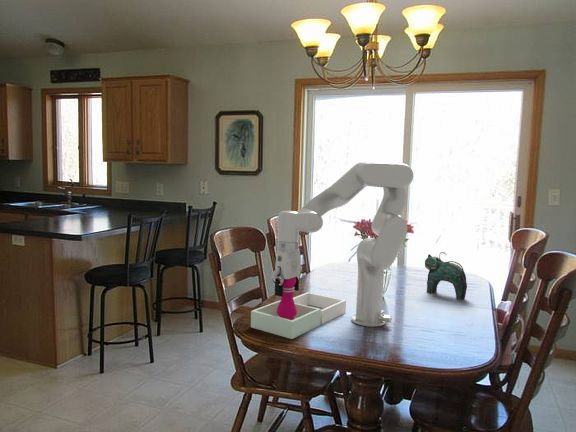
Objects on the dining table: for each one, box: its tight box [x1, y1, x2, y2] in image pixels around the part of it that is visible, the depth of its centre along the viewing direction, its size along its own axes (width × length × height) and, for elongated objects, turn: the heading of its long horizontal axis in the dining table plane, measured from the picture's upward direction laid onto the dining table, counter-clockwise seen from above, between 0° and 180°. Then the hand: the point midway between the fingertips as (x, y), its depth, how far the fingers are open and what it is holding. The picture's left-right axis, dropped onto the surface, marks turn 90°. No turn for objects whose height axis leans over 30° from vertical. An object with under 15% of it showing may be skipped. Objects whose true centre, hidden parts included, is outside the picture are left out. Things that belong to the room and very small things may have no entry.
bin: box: [250, 299, 322, 340], centre depth 169 cm, size 18×18×6 cm
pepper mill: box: [277, 277, 297, 320], centre depth 168 cm, size 7×7×20 cm
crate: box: [293, 291, 347, 325], centre depth 184 cm, size 18×18×5 cm
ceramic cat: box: [424, 251, 468, 301], centre depth 215 cm, size 20×6×20 cm, turn 41°
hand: (286, 292), depth 168 cm, fingers open, 9 cm apart
